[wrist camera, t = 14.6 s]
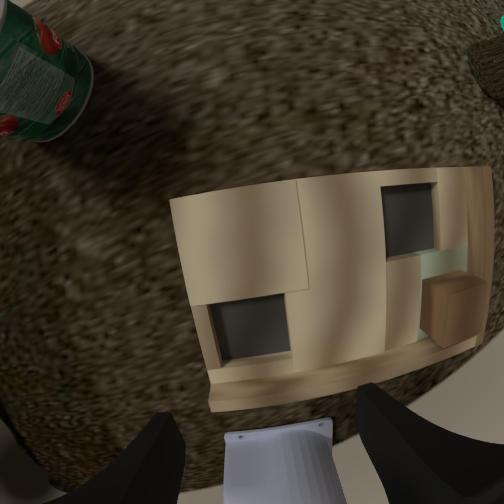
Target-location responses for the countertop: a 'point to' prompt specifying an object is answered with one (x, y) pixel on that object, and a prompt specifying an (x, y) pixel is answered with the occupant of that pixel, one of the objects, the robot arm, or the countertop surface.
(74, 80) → the canned tomato
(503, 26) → the candle
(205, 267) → the wooden flat frame
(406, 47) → the countertop surface
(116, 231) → the countertop surface
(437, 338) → the block
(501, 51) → the beer glass
